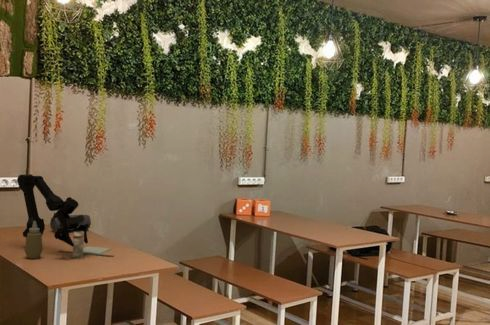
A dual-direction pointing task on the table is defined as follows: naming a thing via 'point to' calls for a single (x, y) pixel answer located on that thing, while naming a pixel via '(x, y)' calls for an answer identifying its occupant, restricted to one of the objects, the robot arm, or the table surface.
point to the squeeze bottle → (33, 242)
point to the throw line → (88, 253)
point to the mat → (95, 250)
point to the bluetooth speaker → (56, 224)
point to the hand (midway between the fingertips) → (80, 244)
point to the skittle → (78, 244)
